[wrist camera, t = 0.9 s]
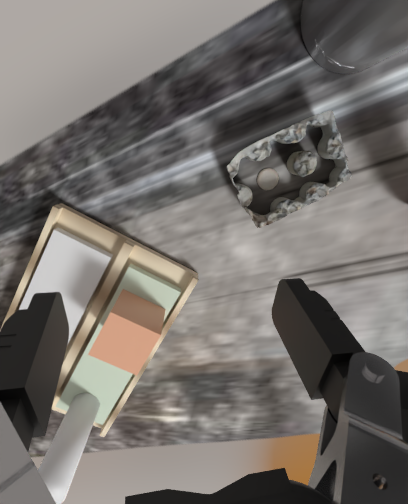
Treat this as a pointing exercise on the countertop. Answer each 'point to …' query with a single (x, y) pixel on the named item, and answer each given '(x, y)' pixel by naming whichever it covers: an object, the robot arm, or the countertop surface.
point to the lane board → (104, 289)
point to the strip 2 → (95, 388)
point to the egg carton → (294, 167)
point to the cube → (129, 333)
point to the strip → (69, 274)
